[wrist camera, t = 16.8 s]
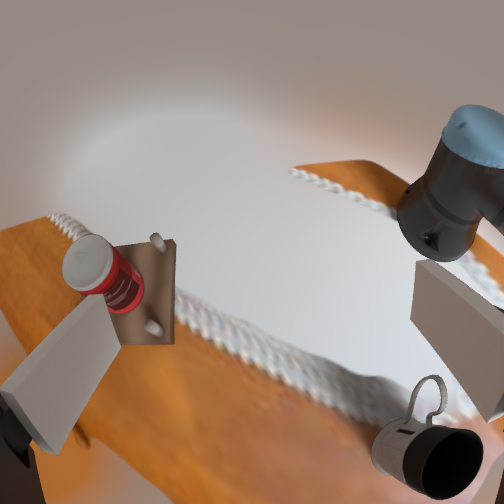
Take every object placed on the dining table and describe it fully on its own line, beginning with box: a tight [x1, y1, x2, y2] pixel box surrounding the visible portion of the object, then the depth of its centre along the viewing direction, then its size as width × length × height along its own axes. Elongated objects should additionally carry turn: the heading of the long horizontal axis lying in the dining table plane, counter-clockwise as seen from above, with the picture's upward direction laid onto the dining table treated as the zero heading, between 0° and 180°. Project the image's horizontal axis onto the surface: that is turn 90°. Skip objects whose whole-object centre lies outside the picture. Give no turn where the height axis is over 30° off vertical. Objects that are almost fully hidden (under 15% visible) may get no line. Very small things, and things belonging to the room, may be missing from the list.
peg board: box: [81, 233, 176, 345], centre depth 43 cm, size 16×16×6 cm
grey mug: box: [371, 375, 483, 500], centre depth 25 cm, size 9×14×15 cm, turn 4°
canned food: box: [62, 234, 144, 314], centre depth 38 cm, size 8×8×11 cm
